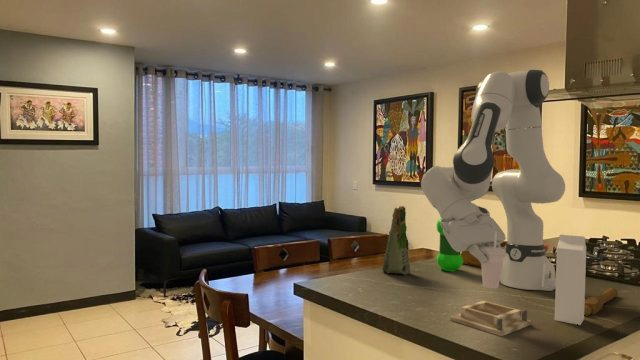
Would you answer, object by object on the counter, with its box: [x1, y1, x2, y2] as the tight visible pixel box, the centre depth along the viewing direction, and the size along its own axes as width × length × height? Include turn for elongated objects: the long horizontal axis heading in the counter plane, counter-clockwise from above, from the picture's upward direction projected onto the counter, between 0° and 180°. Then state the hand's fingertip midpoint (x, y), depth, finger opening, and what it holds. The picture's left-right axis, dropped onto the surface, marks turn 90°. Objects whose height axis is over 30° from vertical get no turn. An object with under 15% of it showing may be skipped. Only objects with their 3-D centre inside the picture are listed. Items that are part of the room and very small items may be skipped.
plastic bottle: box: [436, 217, 464, 272], centre depth 180 cm, size 10×10×25 cm
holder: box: [449, 300, 532, 337], centre depth 118 cm, size 14×14×4 cm
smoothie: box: [479, 231, 506, 290], centre depth 118 cm, size 6×6×14 cm
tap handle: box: [584, 287, 619, 317], centre depth 136 cm, size 3×3×30 cm
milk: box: [554, 234, 587, 326], centre depth 121 cm, size 6×6×22 cm
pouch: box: [381, 205, 411, 276], centre depth 173 cm, size 11×12×25 cm
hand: (494, 260), depth 117 cm, fingers closed on smoothie, 6 cm apart
